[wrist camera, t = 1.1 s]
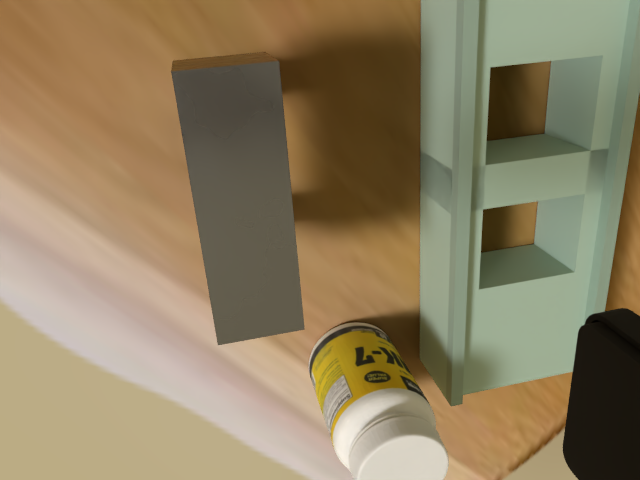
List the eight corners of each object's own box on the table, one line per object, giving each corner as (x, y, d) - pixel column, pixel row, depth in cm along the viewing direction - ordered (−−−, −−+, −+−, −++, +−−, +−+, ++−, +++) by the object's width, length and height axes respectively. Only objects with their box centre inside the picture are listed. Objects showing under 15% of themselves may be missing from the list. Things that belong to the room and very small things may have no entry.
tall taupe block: (174, 48, 23) (171, 71, 15) (248, 41, 23) (278, 61, 16) (208, 250, 26) (218, 345, 19) (271, 241, 27) (304, 329, 20)
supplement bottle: (406, 334, 31) (479, 442, 23) (366, 401, 32) (423, 526, 24) (331, 307, 29) (383, 416, 22) (291, 380, 30) (328, 507, 23)
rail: (421, -94, 23) (467, -112, 19) (598, -103, 24) (673, -121, 20) (419, 358, 32) (451, 406, 28) (548, 333, 33) (594, 375, 29)
